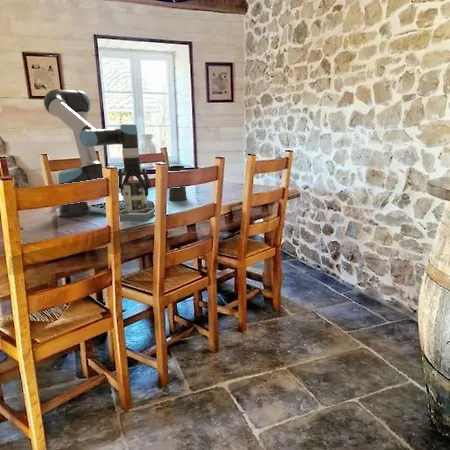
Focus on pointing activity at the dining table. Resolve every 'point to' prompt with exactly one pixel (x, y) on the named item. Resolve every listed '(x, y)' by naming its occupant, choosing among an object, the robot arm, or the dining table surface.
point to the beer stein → (177, 193)
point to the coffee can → (134, 196)
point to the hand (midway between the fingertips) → (135, 202)
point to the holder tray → (137, 215)
